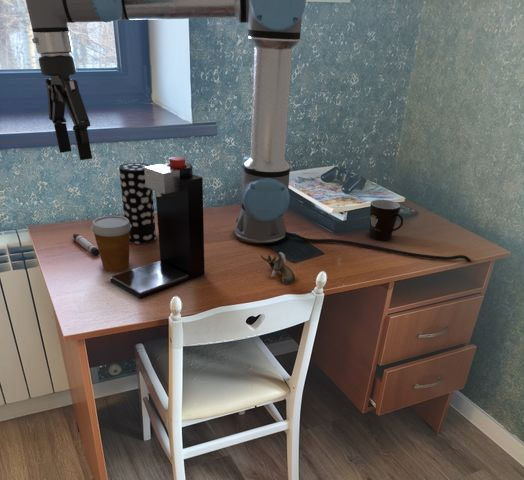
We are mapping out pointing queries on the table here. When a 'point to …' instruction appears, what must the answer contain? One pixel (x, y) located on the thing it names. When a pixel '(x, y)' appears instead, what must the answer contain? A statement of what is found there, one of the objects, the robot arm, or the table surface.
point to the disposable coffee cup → (113, 241)
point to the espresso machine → (157, 273)
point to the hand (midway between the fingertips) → (75, 155)
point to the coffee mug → (383, 219)
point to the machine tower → (182, 225)
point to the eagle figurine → (280, 268)
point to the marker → (86, 244)
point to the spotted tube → (137, 203)
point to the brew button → (177, 162)
